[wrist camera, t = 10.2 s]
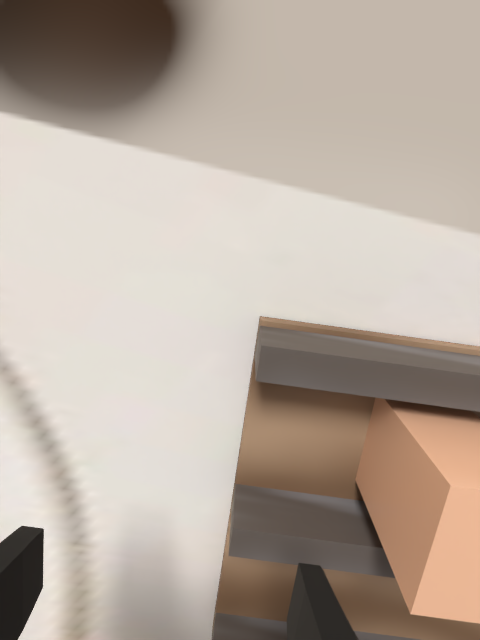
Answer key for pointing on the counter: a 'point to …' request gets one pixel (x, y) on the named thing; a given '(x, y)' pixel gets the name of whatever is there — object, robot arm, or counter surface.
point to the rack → (326, 476)
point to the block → (426, 503)
